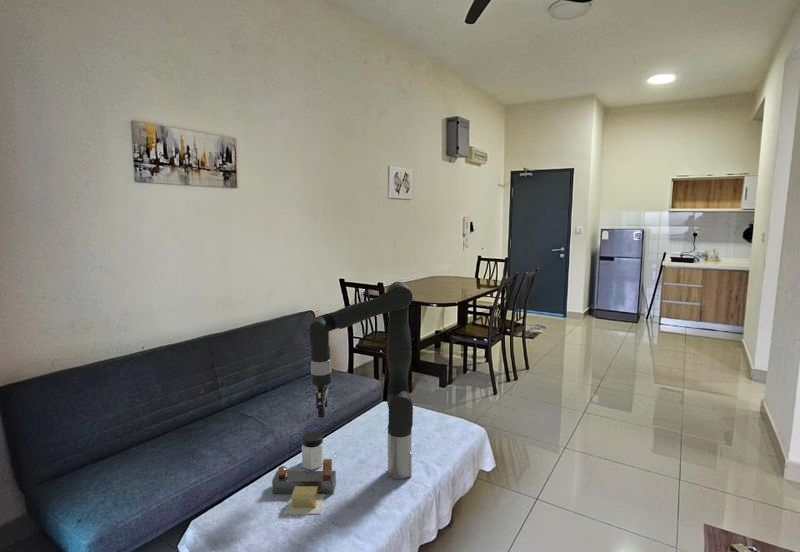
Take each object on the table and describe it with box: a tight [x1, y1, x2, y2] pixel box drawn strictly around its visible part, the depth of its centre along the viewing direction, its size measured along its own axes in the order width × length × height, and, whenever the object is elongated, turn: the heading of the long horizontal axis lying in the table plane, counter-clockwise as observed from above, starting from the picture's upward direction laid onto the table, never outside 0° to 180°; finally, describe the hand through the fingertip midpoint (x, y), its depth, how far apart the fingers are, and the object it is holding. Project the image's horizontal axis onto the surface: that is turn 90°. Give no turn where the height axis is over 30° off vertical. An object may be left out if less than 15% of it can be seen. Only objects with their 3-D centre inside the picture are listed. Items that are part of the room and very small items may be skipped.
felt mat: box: [284, 494, 326, 515], centre depth 155 cm, size 12×10×1 cm
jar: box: [301, 431, 324, 471], centre depth 179 cm, size 9×8×12 cm
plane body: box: [271, 458, 337, 495], centre depth 163 cm, size 22×6×11 cm, turn 90°
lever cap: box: [292, 486, 318, 508], centre depth 154 cm, size 8×4×5 cm, turn 90°
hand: (323, 411), depth 167 cm, fingers open, 8 cm apart
